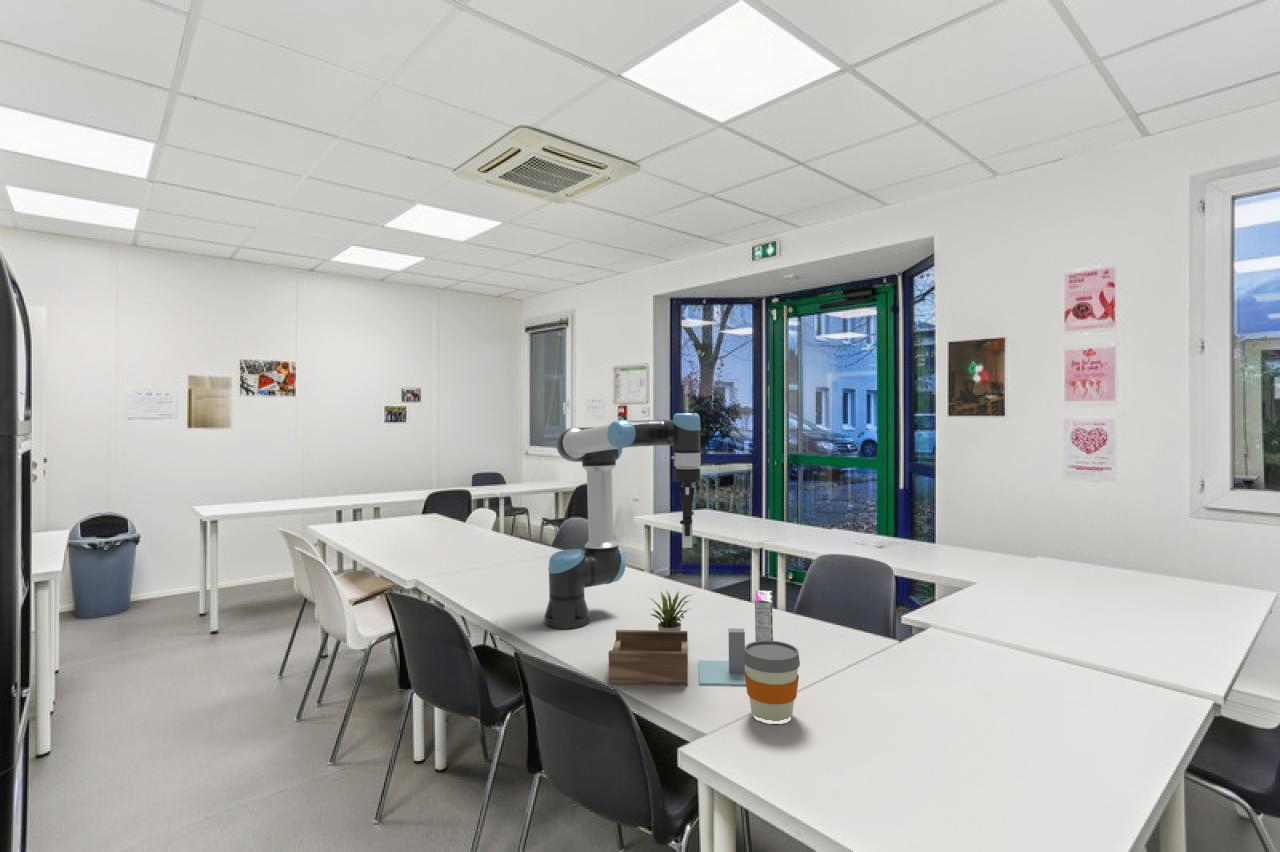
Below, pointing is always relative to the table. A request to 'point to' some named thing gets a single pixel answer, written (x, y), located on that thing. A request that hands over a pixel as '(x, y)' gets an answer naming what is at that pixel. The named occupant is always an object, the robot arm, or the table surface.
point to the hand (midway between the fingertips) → (687, 542)
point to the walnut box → (649, 658)
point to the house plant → (670, 613)
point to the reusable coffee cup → (771, 678)
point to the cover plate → (726, 664)
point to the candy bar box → (763, 616)
